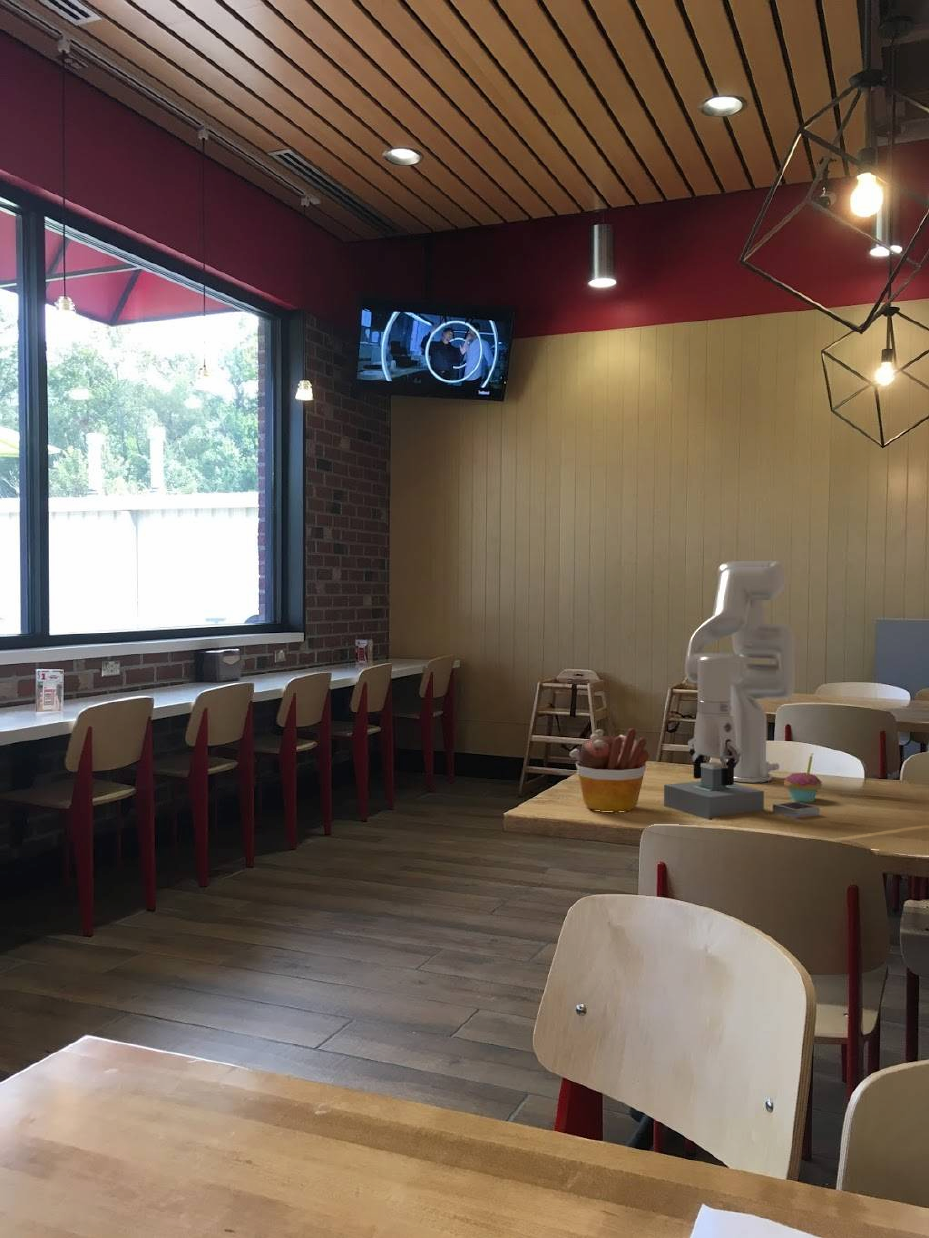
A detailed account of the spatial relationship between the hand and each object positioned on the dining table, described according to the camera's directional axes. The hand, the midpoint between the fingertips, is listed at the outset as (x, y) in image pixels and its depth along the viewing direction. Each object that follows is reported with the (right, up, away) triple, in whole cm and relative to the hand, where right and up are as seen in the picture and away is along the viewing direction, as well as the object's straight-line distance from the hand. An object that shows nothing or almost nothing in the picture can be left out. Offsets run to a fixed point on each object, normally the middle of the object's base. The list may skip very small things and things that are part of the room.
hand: (713, 781), depth 233 cm
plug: (0, -6, 0) cm, 6 cm away
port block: (0, -7, 0) cm, 6 cm away
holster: (+17, -7, -7) cm, 20 cm away
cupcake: (+24, -7, +9) cm, 26 cm away
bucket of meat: (-24, -7, +1) cm, 25 cm away
